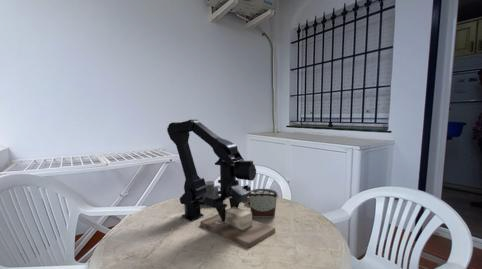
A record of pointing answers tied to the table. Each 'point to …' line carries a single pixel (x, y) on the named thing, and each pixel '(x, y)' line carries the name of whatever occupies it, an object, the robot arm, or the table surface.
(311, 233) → the table surface
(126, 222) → the table surface
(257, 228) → the oak board
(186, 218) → the robot arm
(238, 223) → the block
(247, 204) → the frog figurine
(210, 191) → the pipe fitting
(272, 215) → the food container
